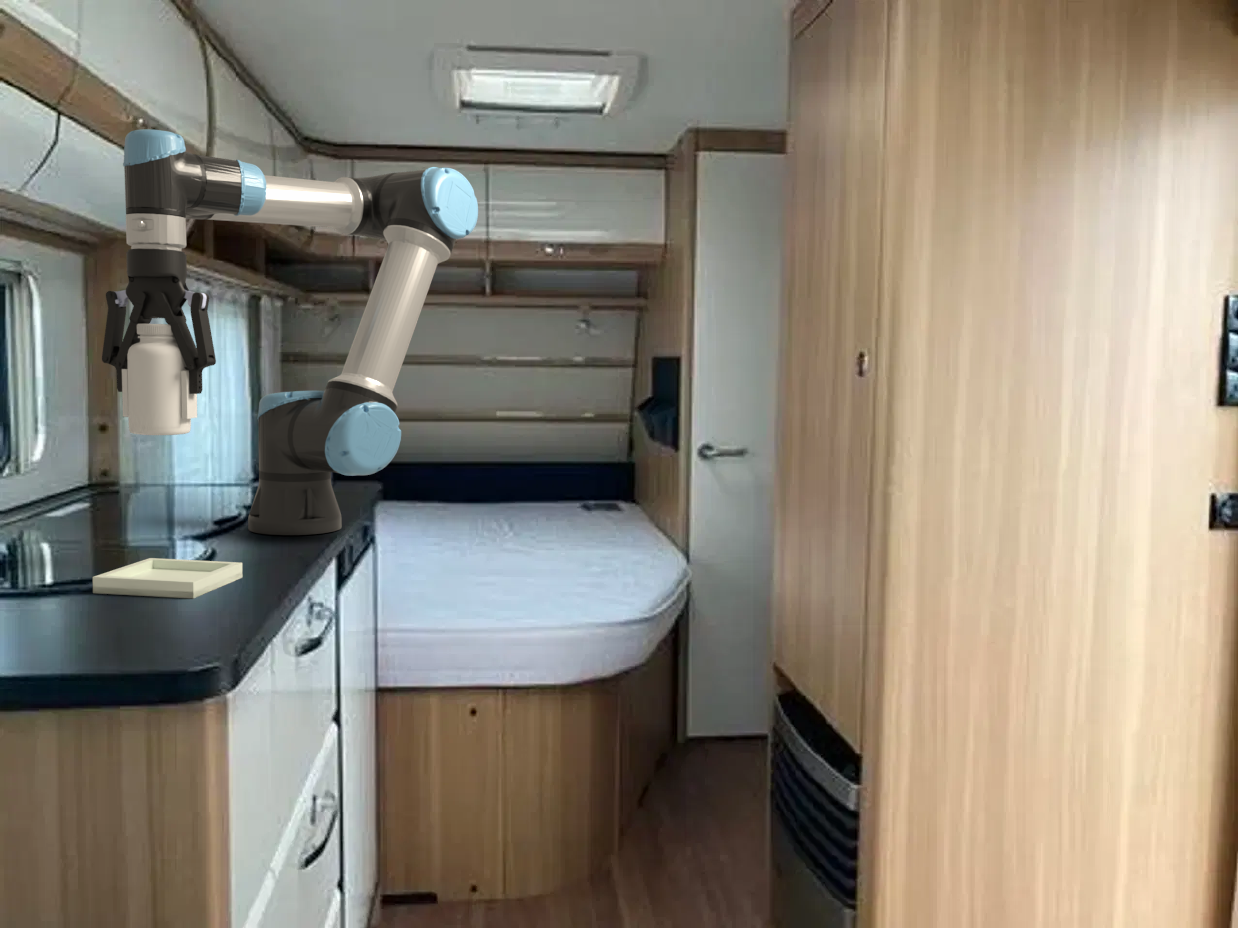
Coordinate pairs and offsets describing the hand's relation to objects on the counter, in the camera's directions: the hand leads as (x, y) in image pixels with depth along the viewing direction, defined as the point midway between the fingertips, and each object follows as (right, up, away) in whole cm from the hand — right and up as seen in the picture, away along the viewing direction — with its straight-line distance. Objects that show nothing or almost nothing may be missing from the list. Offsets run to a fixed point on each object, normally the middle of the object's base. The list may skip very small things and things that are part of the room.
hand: (160, 417), depth 152 cm
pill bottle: (0, -2, 0) cm, 3 cm away
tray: (+6, -22, -11) cm, 25 cm away
